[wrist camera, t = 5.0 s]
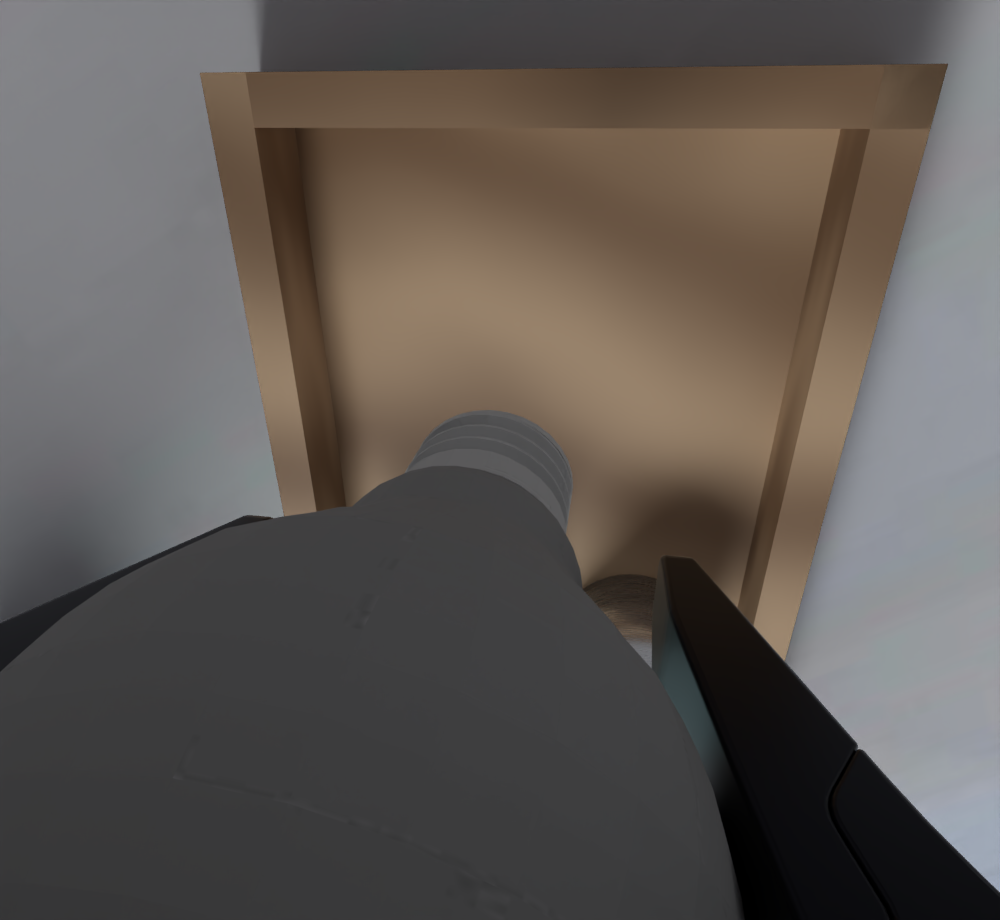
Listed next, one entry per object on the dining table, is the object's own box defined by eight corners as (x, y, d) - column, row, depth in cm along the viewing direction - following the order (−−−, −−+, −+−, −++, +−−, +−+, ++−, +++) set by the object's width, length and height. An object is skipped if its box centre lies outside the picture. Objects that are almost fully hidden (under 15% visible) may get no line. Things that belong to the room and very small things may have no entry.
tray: (735, 735, 23) (746, 801, 21) (352, 683, 25) (326, 738, 23) (897, 69, 14) (947, 63, 11) (259, 76, 16) (199, 72, 13)
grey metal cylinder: (688, 679, 21) (699, 791, 18) (564, 663, 22) (552, 769, 19) (707, 581, 20) (723, 685, 16) (570, 567, 20) (558, 664, 17)
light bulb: (657, 257, 9) (1092, 2597, 1) (693, 595, 12) (874, 1952, 3) (280, 326, 11) (-1199, 1267, 2) (385, 614, 13) (-71, 1568, 5)
